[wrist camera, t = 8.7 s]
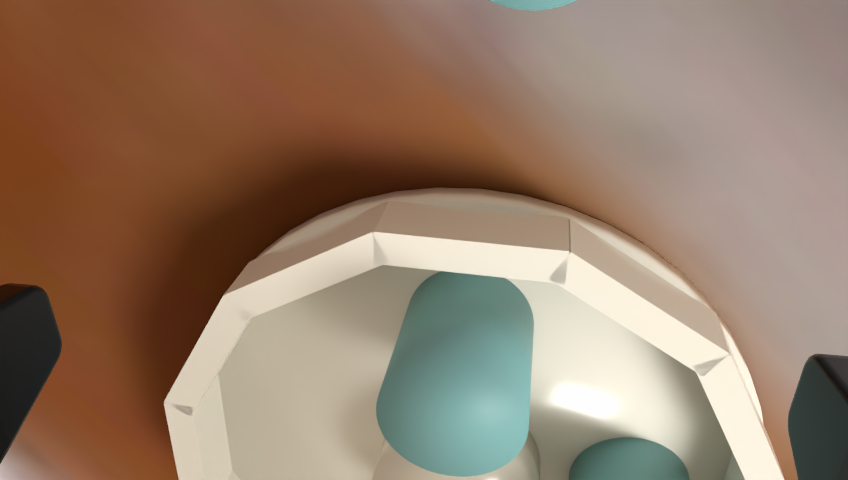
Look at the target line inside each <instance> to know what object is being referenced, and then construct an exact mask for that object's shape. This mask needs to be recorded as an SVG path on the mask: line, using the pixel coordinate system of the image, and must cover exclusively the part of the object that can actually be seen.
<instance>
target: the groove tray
mask: <svg viewBox="0 0 848 480" xmlns="http://www.w3.org/2000/svg"><path fill="white" fill-rule="evenodd" d="M440 271H446V272H455V273H465V274H474V275H484V276H493V277H502V278H506V279H507V280H509V281H510V282H512V283H513V284H514V285H515V286H516V287H517V288H519V290H520V291H521V292H522V293H523V294H524V296H525V297H526V299H527V300H528V302H529V305H530V307H531V310H532V313H533V319H534V333H533V353H532V373H531V392H530V412H529V431H528V436H527V439H526V442H525V444H524V446H523V448H522V449H521V451H520V452H519V454H518V455H517V456H516V457H515V458H514V459H513V460H512V461H510V462H509V463H508V464H506V465H505V466H503V467H501V468H499V469H497V470H495V471H492V472H489V473H486V474H482V475H477V476H468V477H457V476H447V475H442V474H438V473H434V472H431V471H428V470H425V469H423V468H420V467H418V466H416V465H414V464H413V463H411V462H409V461H408V460H406V459H405V458H403V457H402V456H401V455H400V454H398V453H397V452H396V451H395V450H394V449H393V448H392V447H391V446H390V444H389V443H388V442H387V440H386V439H385V437H384V436H383V434H382V432H381V430H380V427H379V425H378V421H377V416H376V403H377V399H378V395H379V392H380V389H381V386H382V383H383V380H384V377H385V374H386V371H387V368H388V365H389V362H390V359H391V356H392V353H393V350H394V347H395V344H396V341H397V338H398V335H399V332H400V329H401V326H402V323H403V320H404V317H405V314H406V311H407V308H408V305H409V302H410V300H411V297H412V295H413V293H414V292H415V290H416V289H417V288H418V287H419V285H420V284H421V283H422V282H424V281H425V280H426V279H427V278H429V277H430V276H432V275H434V274H436V273H438V272H440ZM164 408H165V413H166V418H167V423H168V428H169V433H170V438H171V443H172V448H173V453H174V458H175V463H176V468H177V473H178V478H179V480H569V472H570V468H571V466H572V464H573V462H574V460H575V459H576V458H577V456H578V455H579V454H580V453H581V452H583V451H584V450H585V449H587V448H588V447H590V446H592V445H594V444H596V443H598V442H601V441H604V440H608V439H613V438H621V437H632V438H641V439H646V440H650V441H653V442H656V443H658V444H661V445H663V446H665V447H666V448H668V449H670V450H671V451H672V452H674V453H675V454H676V455H677V456H678V457H679V458H680V459H681V460H682V461H683V463H684V464H685V466H686V468H687V471H688V473H689V478H690V480H784V477H783V474H782V471H781V469H780V466H779V463H778V460H777V458H776V455H775V452H774V450H773V447H772V444H771V441H770V439H769V436H768V434H767V432H766V429H765V427H764V425H763V418H762V411H761V407H760V404H759V401H758V397H757V394H756V391H755V388H754V385H753V382H752V379H751V376H750V373H749V371H748V368H747V365H746V363H745V360H744V357H743V355H742V353H741V352H740V350H739V348H738V346H737V344H736V342H735V340H734V338H733V336H732V334H731V332H730V330H729V329H728V327H727V325H726V324H725V323H724V321H723V320H722V319H721V317H720V316H719V315H718V313H717V312H716V311H715V309H714V308H713V306H712V305H711V304H710V302H709V301H708V300H707V298H706V297H705V296H704V295H703V294H702V293H701V292H700V291H699V290H698V289H697V288H696V287H695V286H694V285H693V284H692V283H691V282H690V281H689V280H688V279H687V278H686V277H685V276H684V275H683V274H682V273H681V272H680V271H679V270H678V269H677V268H675V267H674V266H673V265H671V264H670V263H669V262H667V261H666V260H665V259H663V258H662V257H661V256H659V255H658V254H657V253H655V252H654V251H653V250H651V249H650V248H649V247H647V246H646V245H645V244H643V243H641V242H639V241H637V240H636V239H634V238H632V237H630V236H629V235H627V234H625V233H623V232H622V231H620V230H618V229H616V228H614V227H613V226H611V225H609V224H607V223H605V222H602V221H600V220H598V219H595V218H593V217H590V216H588V215H585V214H583V213H580V212H578V211H576V210H573V209H571V208H568V207H565V206H562V205H558V204H554V203H551V202H547V201H544V200H540V199H536V198H533V197H529V196H525V195H520V194H513V193H506V192H500V191H493V190H486V189H475V188H441V187H437V188H426V189H415V190H404V191H395V192H391V193H386V194H382V195H377V196H373V197H368V198H364V199H359V200H356V201H353V202H350V203H348V204H345V205H342V206H339V207H337V208H334V209H331V210H329V211H326V212H323V213H321V214H319V215H317V216H315V217H313V218H312V219H310V220H308V221H306V222H304V223H302V224H301V225H299V226H297V227H295V228H293V229H291V230H290V231H288V232H287V233H286V234H284V235H283V236H282V237H280V238H279V239H278V240H276V241H275V242H274V243H272V244H271V245H270V246H268V247H267V248H266V249H264V250H263V251H262V252H261V253H260V254H259V255H258V257H257V258H256V259H255V260H252V261H250V262H249V263H248V264H247V265H246V267H245V268H244V269H243V271H242V272H241V273H240V274H239V276H238V277H237V278H236V280H235V281H234V282H233V284H232V285H231V286H230V287H229V289H228V290H227V291H226V293H225V294H224V295H223V297H222V298H221V300H220V302H219V304H218V306H217V307H216V309H215V311H214V313H213V314H212V316H211V318H210V320H209V322H208V324H207V325H206V327H205V329H204V331H203V332H202V334H201V336H200V338H199V340H198V341H197V343H196V345H195V347H194V349H193V350H192V352H191V354H190V356H189V358H188V359H187V361H186V363H185V365H184V366H183V368H182V370H181V372H180V374H179V375H178V377H177V379H176V381H175V383H174V384H173V386H172V388H171V390H170V392H169V393H168V395H167V397H166V399H165V400H164Z"/></svg>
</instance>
